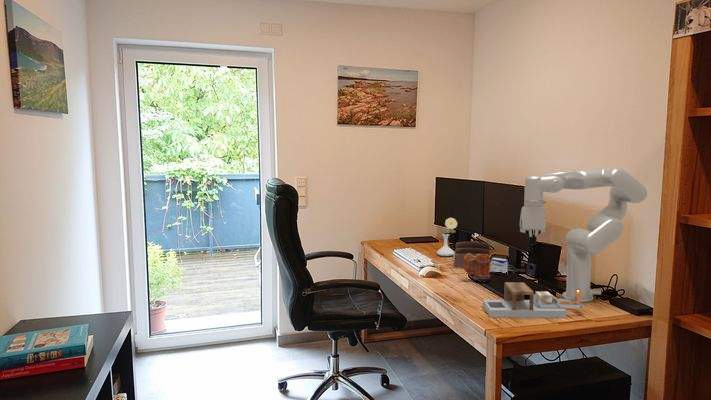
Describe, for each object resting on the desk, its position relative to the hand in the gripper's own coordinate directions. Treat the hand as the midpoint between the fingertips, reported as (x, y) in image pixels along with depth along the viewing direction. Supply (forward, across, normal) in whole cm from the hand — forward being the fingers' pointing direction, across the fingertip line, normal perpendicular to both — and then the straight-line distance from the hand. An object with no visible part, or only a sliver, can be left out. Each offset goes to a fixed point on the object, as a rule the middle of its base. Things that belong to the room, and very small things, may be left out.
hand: (532, 245), depth 198 cm
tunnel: (+22, +10, +15) cm, 29 cm away
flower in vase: (+25, +25, -89) cm, 96 cm away
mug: (+25, +18, -29) cm, 42 cm away
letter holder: (+26, +14, -61) cm, 68 cm away
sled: (+22, -6, +15) cm, 27 cm away
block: (+22, 0, +15) cm, 27 cm away
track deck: (+25, +8, +15) cm, 30 cm away
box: (+25, +3, -44) cm, 51 cm away
